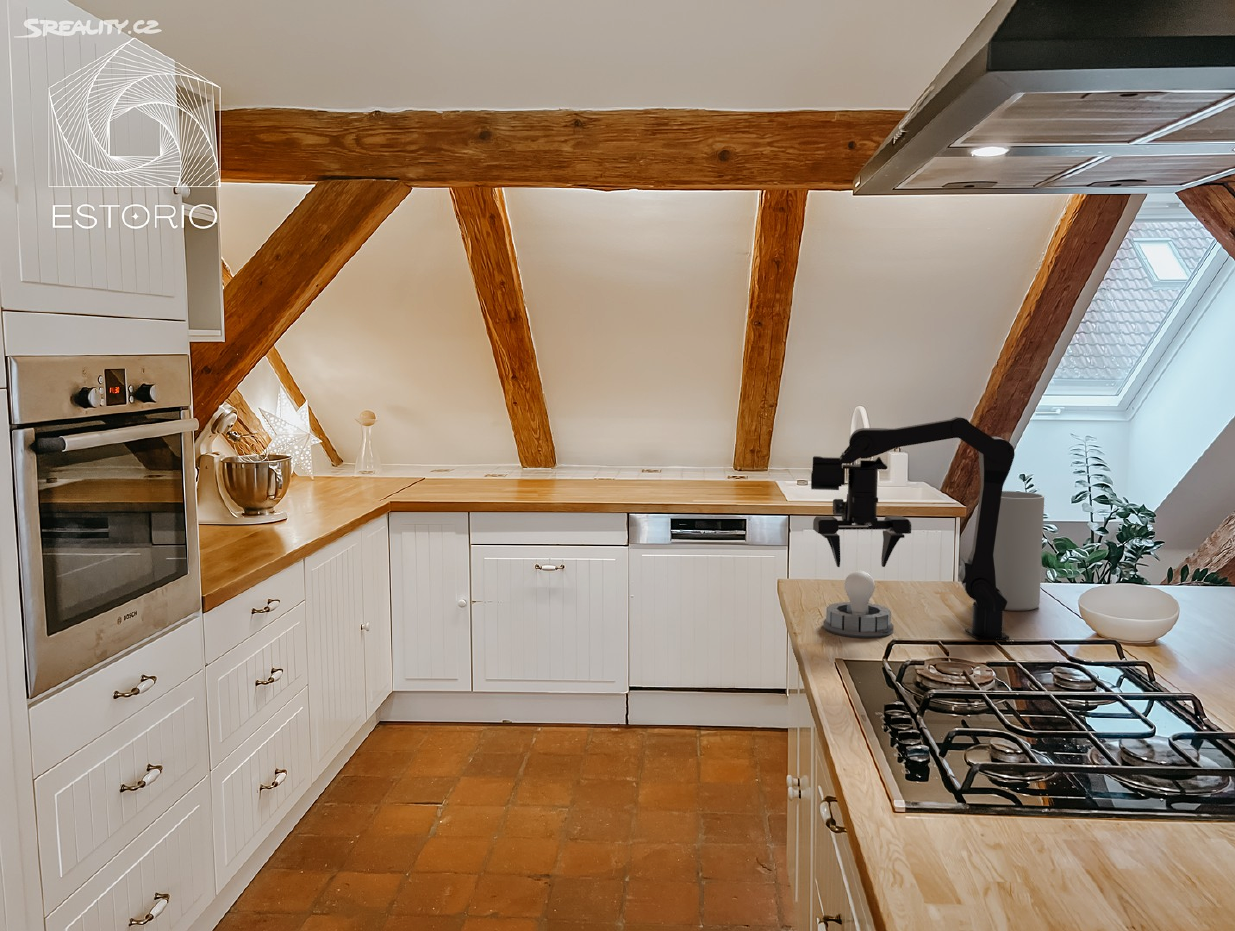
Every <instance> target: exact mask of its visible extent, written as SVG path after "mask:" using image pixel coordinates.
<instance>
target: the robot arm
mask: <svg viewBox="0 0 1235 931" xmlns="http://www.w3.org/2000/svg"><path fill="white" fill-rule="evenodd" d="M950 439H959V440H961V441H963V442H964V443H965V444H966V445H969V446H970V447H971V448H972V449H975V450H976V451H978V461H979V462H978V465H979V474H980V491H979V497H978V506H977V510H976V517H975V518H976V519H975V524H974V525H975V526H974V534H973V543H972V548H971V552H970V554H969V557H968V558H965V557H961V558H960V571H959V573H958V574H957V576H958V578H959V579H960V582H961V584H962V587H963V589H964V591H965V592H966V594H967V596H968V597H969V598H970V599H972V600H973V603H972V620H971V625H972V626H971V628H965V629H964V631H965V632H966V633H967V634H968V635H970V636H972V637H973V638H974V639H976V640H978V639H980V640H979V641H981V640H983V641H984V640H985V641H987V640H989V641H990V640H991V641H992V640H995V641H996V640H1010V639H1011V638H1010V636H1009V635H1007V634H1006V633H1004V632H1003V628H1004V627H1003V626H1004V625H1003V624H1004V611H1005V610H1004V609H1005V607H1006V605H1007V600H1006V599H1005V597H1004V596H1003V594H1002V593H1001V591H1000V590H999V589H998V588H997V587H996V576H995V566H994V557H993V553H994V546H995V539H996V532H997V524H998V517H999V510H1000V503H1001V496H1002V491H1003V488H1004V485H1005V482H1006V480H1007V478H1008V476H1009V473H1010V470H1011V468H1012V465H1013V463H1014V458H1015V448H1014V447H1013V445H1012V443H1011V442H1010V441H1008V440H1006V439H1004V438H1002V437H1000V436H999V437H998V436H990V435H989V434H987V433H985V432H984V431H983V430H981V429H980V428H979V427H976V426H975V425H974V424H972V423H970V421H969V420H968V419H966V418H965V417H962V416H955V417H953V418H950V419H943V420H939V421H932V422H926V423H921V424H914V425H908V426H902V427H895V428H887V427H884V428H883V427H865V428H864V427H862V428H861V427H860V428H858V429H856V430H854V431H853V432H852V433H851V435H850V437H849V440H848V442H849V443H848V444H849V445H848V446H847V447H846V448H845V450H844V451H843V452H841V455H840V456H839V457H832V456H831V457H827V456H826V457H825V456H818V455H814V456H813V457H812V470H811V475H810V485H811V486H810V490H817V491H818V490H821V491H822V490H823V491H840V487H842V486H845V484H846V482H845V481H846V470H847V469H848V473H847V474H848V481H847V484H848V485H847V495H846V501H844V499H843V498H835V499H833V500H832V514H833V516H832V515H831V516H830V515H829V516H828V515H827V516H825V515H822V516H821V515H820V516H819V515H818V516H815V517H814V518H813V522H812V529H813V531H815V532H816V533H817V534H819V535H820V536H822V537H823V538H824V539H826V540H827V542H828V544H829V546H830V549H831V552H832V555H833V560H834V562H835V565H836V567H837V568H840V566H841V539H840V537H841V536H840V535H839V534H838V531H839V530H882V537H883V538H882V540H883V541H882V549H881V550H882V551H881V558H880V559H881V567H882V568H885V567H886V565H887V563H888V561H889V559H890V557H891V554H892V553H893V550H894V549H895V547H896V545H897V544H898V543H899V540H900V539H903V538H904V539H905V535H906V534H908V535H909V534H912V523H911V521H910V519H908V518H906V517H905V516H902V515H885V516H884V519H883V520H882V519H881V520H879V519H878V517H877V510H878V509H877V508H878V503H879V497H878V474H879V472H878V471H879V470H883V471H884V470H887V469H888V466H887V464H886V463H885V462H884V461H883V460H882V458H881V456H878V455H881V454H884V453H887V452H889V451H891V450H894V449H898V448H901V447H908V446H915V445H921V444H926V443H932V442H937V441H944V440H950ZM876 456H877V457H876ZM874 457H876V458H875V460H865V459H870V458H874ZM859 459H860V462H859V464H853V463H854V462H855V461H857V460H859ZM861 459H862V460H861ZM835 516H841V519H837V518H836V517H835Z"/></svg>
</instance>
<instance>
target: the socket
mask: <svg viewBox="0 0 1235 931" xmlns="http://www.w3.org/2000/svg"><path fill="white" fill-rule="evenodd" d="M825 610H826V613H825V614H826V615H825V619H824V620H823V623H822V625H823V626H822V627H823V630H824V631H826V632H827V633H830V634H833V635H837V636H840V637H846V638H853V639H854V638H855V639H877V638H879V639H880V638H885V637H888V636H891V635H892V634H893V633H894V629H895V628H894V627H895V626H894V623H892V622H891V621H892V611H891V609H889V608H888V607H886V606H882V605H880V604H876V603H872V602H871V603H869V602H868V606H867V611H866V615H855V614H852V610H851V603H850V601H843V602H837V603H832V604H829V605H828V606H827V607H826V609H825Z"/></svg>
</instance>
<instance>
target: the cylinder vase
mask: <svg viewBox="0 0 1235 931" xmlns="http://www.w3.org/2000/svg"><path fill="white" fill-rule="evenodd" d="M1044 510H1045V495H1043V494H1040V493H1036V492H1028V491H1017V490H1015V491H1012V490H1002V496H1001V503H1000V510H999V517H998V524H997V532H996V539H995V546H994V553H993V557H994V566H995V576H996V587H997V588H998V589H999V590H1000V591H1001V593H1002V594H1003V596H1004V597H1005V599H1006V600H1007V605H1006V607H1005V609H1004V611H1013V612H1017V611H1018V612H1019V611H1020V612H1024V611H1033V610H1035V609H1037V608H1038V607H1039V606H1040V603H1041V602H1040V599H1041V583H1042V582H1041V579H1042V576H1041V575H1042V558H1043V557H1042V554H1043V534H1044V514H1045V513H1044Z"/></svg>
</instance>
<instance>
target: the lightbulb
mask: <svg viewBox="0 0 1235 931" xmlns="http://www.w3.org/2000/svg"><path fill="white" fill-rule="evenodd" d="M843 584H844V585H843V586H844V587H843V588H844V591H845V593H846V596H847V597H848V600H849V602H850V603H851V610H852V614H855V615H866V611H867V606H868V603H869V602H870V599H871V598H872V596H873V594H874V592H875V589H876V584H875V580H874V578H873V577H872V575H870V574H869V573H868V572H866V571H863V570H855V571H852V572H851V573H849V574H848V575H847V576H846V578H845V579H844V583H843Z"/></svg>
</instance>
